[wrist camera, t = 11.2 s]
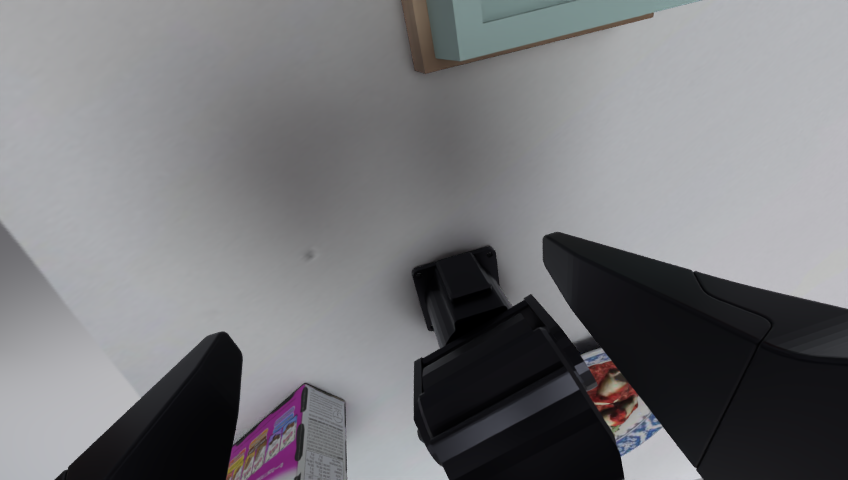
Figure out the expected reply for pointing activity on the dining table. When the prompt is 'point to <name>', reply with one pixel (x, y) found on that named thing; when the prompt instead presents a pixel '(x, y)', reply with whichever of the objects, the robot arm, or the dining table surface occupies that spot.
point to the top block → (522, 21)
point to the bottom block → (428, 63)
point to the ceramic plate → (619, 403)
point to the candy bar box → (295, 441)
